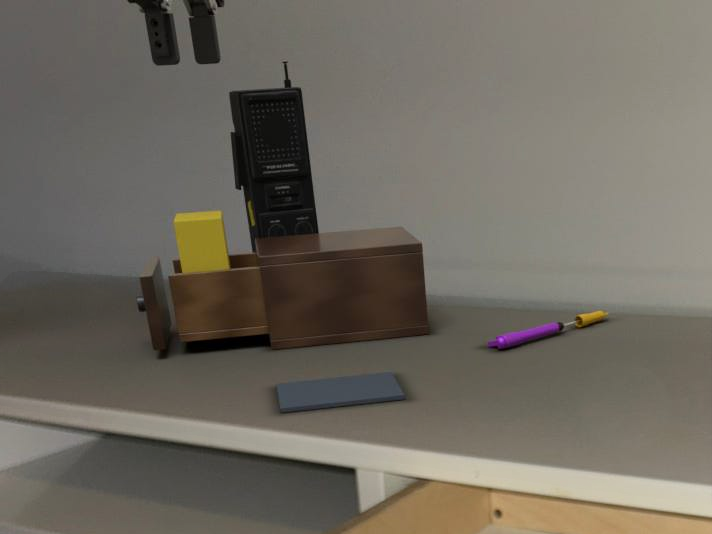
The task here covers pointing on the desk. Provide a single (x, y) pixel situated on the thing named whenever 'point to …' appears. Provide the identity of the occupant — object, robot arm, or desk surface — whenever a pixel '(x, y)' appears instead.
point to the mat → (338, 392)
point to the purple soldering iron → (544, 330)
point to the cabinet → (343, 286)
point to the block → (201, 241)
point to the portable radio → (273, 161)
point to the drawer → (204, 301)
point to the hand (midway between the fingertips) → (188, 64)
